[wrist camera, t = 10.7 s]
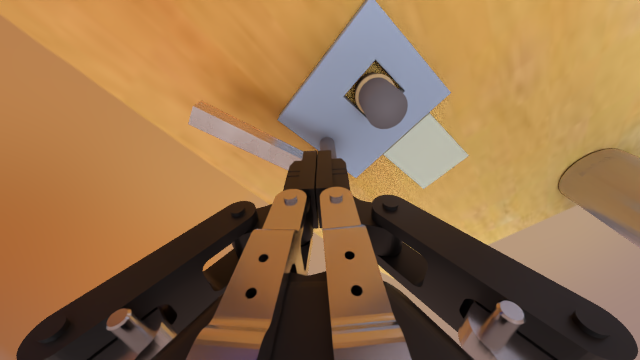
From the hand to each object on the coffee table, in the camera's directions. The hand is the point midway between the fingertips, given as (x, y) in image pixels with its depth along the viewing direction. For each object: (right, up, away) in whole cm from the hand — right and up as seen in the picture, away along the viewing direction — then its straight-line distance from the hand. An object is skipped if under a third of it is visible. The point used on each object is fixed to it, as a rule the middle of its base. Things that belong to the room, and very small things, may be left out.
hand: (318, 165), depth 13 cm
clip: (-4, +2, +10) cm, 11 cm away
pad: (+16, +3, +22) cm, 27 cm away
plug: (+6, +11, +16) cm, 20 cm away
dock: (+5, +9, +17) cm, 20 cm away
